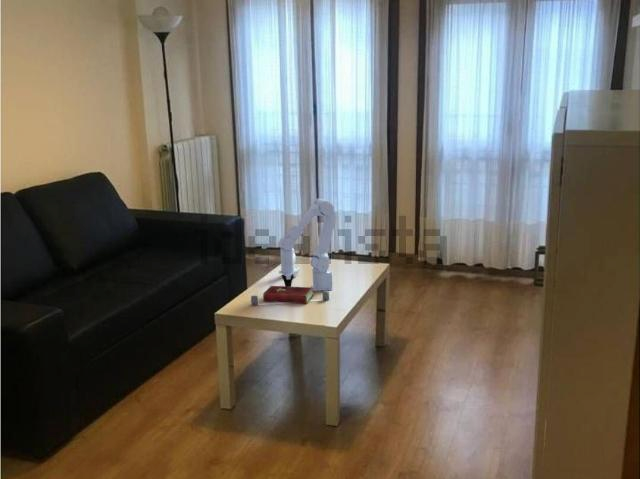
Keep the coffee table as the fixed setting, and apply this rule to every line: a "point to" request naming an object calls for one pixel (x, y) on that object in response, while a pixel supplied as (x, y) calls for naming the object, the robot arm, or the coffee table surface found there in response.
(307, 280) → the coffee table surface
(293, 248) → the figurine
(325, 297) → the strip
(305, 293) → the hardcover book
